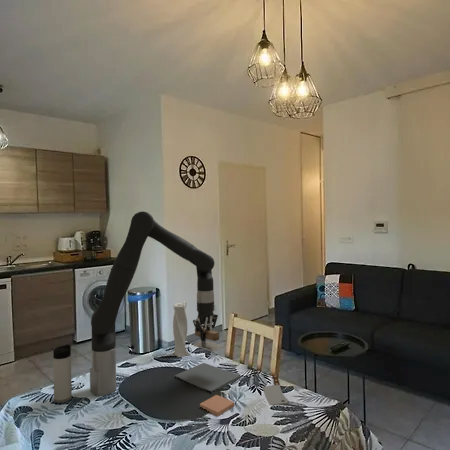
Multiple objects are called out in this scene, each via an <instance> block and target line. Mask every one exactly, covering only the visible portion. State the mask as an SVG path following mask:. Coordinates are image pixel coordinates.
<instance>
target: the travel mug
mask: <svg viewBox="0 0 450 450" xmlns="http://www.w3.org/2000/svg"><path fill="white" fill-rule="evenodd" d="M52 352H53V355H52V356H53V357H52V361H53V362H52V363H53V365H52V366H53V367H52V368H53V369H52V370H53V401H54V402H55V403H58V404H59V403H66V402H68V401H70V400H71V399H72V396H73V395H72V394H73V393H72V392H73V391H72V348H71V344H65V345H61V346H58V347H56V348H54V349H53V351H52Z"/></svg>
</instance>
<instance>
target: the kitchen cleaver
mask: <svg viewBox="0 0 450 450" xmlns="http://www.w3.org/2000/svg"><path fill="white" fill-rule="evenodd" d="M271 377H272V380H273V385H267V386H262V390H263V394H264V397H265V399H266V401H267V402H268V405H269V406H279V405H280V406H281V405H282V406H283V405H288V404H290V400H289V399H288V398H287V397H286V396H285V395H284V393H283V390H282V388H281V384H280V380H279V376H278V375H277V374H273V375H272V376H271Z"/></svg>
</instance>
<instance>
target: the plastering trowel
mask: <svg viewBox="0 0 450 450" xmlns="http://www.w3.org/2000/svg"><path fill="white" fill-rule="evenodd" d="M202 330H203V327H202ZM205 333H206V341H201V340H200V341H199V342H196V343H193V344H192V346H193V347H196V348H200V349H203V350H205V351H208V352H212V353H214V352H217V351H220V350H222V349H224V348H225V345H223V344H219V343H215V342H216V341H219V340H220V332H219V331H215V330H213V329H212V330H208V329H206V330H205ZM194 335H195V336H196V337H199V338H200V332H197V331H196V328H195V327H194ZM208 340H211V341H208ZM212 341H214V342H212Z"/></svg>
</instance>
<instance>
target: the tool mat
mask: <svg viewBox="0 0 450 450" xmlns="http://www.w3.org/2000/svg"><path fill="white" fill-rule="evenodd" d="M175 376H176V377H179V378H181V379H183V380H186V381H188V382H191V383H193V384H196V385H198V386H200V387H202V388H205V389H207V390H209V391H213V390H216V389H219V390H220V389H223V388H224V387H226V386H228V385H230V384H231V383H234V382H235V381H237V380H239V379H241V375H239V374H237V373H233V372H231V371H228V370H225V369H222V368H220V367H216V366H214V365H211V364H208V363H206V362H202V363H200V364H198V365H195V366H194V367H193V366H192V367H190V368H188V369H186V370H184V371H182V372H179V373H177V374H174V377H175Z"/></svg>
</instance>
